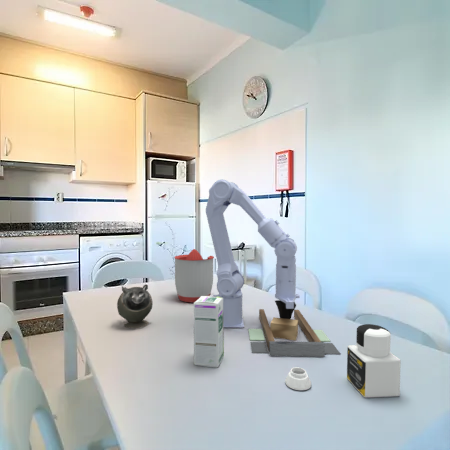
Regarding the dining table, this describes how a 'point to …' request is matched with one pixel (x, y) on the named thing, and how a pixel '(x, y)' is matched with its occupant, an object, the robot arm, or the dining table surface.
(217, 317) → the syrup box
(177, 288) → the citrus juicer
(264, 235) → the robot arm
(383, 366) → the medicine bottle
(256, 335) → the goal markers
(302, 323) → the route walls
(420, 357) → the dining table surface
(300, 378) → the lidless jar
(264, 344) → the trap bay
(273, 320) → the oak block
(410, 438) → the dining table surface
